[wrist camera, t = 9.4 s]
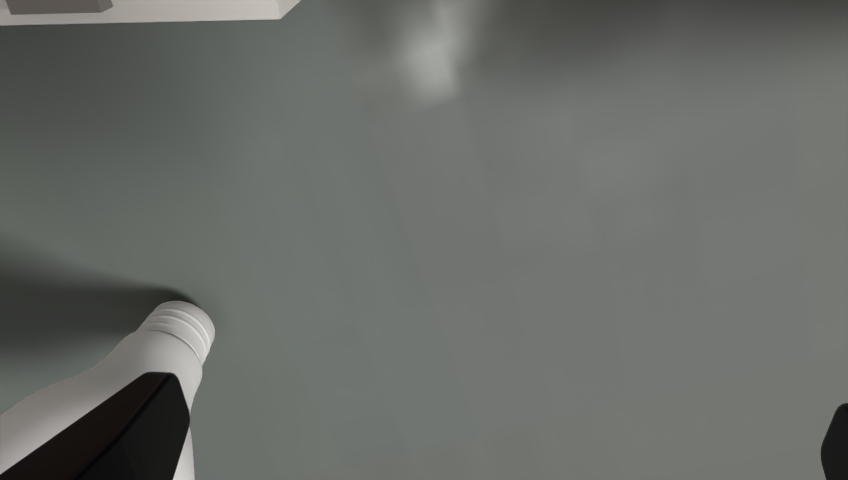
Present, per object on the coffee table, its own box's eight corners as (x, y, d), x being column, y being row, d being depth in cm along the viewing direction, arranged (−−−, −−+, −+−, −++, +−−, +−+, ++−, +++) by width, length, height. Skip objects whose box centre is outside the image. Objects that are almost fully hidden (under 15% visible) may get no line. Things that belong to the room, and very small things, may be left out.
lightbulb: (89, 255, 25) (-150, 509, 16) (240, 243, 24) (77, 507, 15) (149, 374, 28) (-22, 643, 19) (285, 367, 27) (173, 649, 18)
